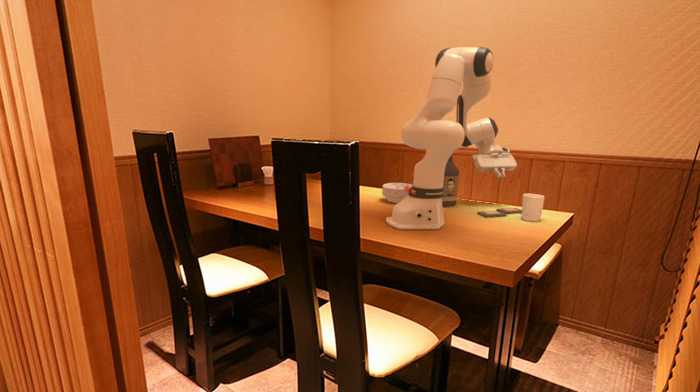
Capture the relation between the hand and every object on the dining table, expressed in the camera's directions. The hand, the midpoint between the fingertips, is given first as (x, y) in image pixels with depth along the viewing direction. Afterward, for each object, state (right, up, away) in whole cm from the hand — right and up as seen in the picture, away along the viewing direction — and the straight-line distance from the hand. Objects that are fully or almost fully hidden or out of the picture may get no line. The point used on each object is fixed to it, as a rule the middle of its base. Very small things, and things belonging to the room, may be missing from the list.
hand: (501, 177), depth 167 cm
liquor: (-24, -13, +6) cm, 28 cm away
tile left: (-9, -17, -11) cm, 22 cm away
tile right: (+2, -15, -4) cm, 16 cm away
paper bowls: (-46, -11, +11) cm, 48 cm away
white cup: (+5, -18, -16) cm, 25 cm away
